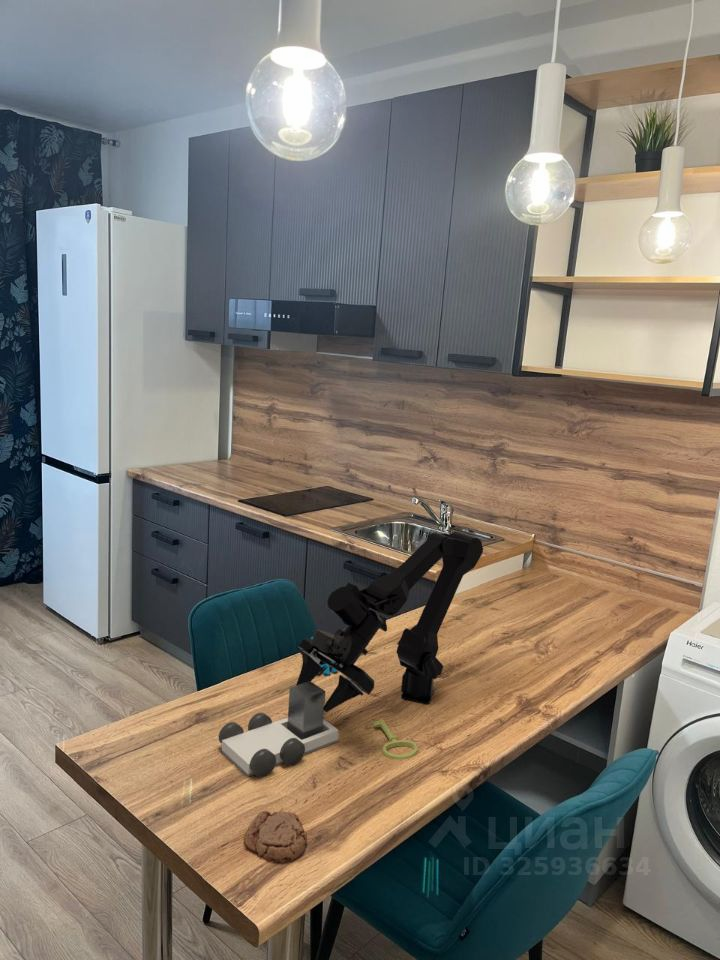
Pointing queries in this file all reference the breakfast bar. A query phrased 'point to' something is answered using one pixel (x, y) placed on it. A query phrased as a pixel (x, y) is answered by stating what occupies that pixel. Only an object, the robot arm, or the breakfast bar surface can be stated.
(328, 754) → the breakfast bar surface
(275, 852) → the cookie
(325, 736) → the chassis
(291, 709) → the block
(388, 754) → the key
